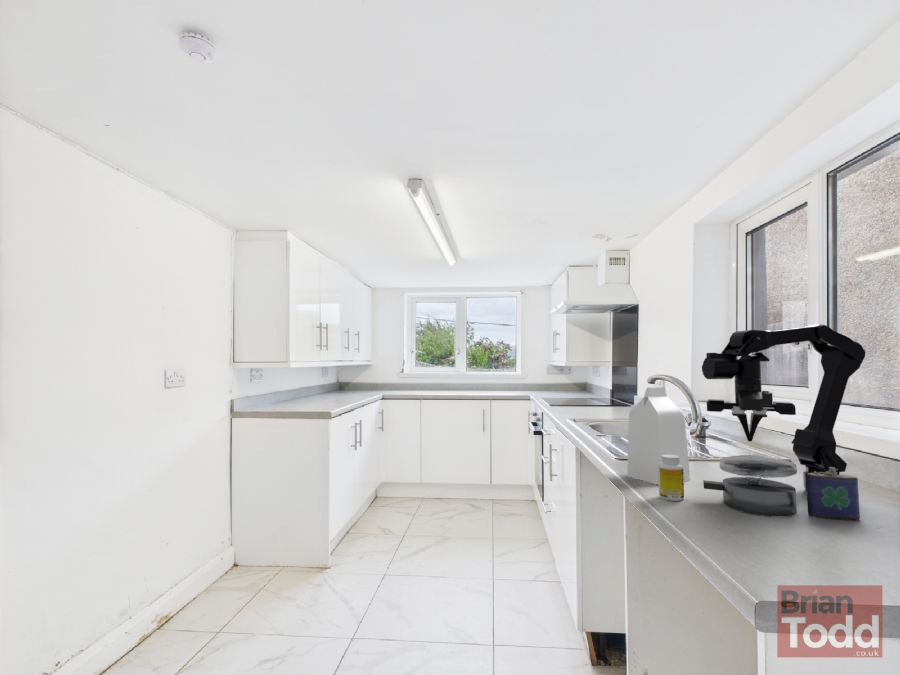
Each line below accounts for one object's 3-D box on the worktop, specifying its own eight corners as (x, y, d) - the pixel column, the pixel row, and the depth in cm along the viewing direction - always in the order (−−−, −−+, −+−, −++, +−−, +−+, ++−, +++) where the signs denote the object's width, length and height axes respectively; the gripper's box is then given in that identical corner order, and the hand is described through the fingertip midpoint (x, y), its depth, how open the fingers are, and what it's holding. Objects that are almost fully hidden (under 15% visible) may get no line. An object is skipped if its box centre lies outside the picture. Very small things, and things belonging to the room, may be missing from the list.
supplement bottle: (687, 502, 110) (685, 458, 111) (662, 501, 112) (660, 457, 112) (680, 495, 116) (679, 454, 116) (656, 494, 117) (655, 453, 118)
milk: (661, 485, 125) (658, 388, 127) (627, 476, 136) (625, 386, 137) (690, 480, 131) (687, 387, 132) (655, 472, 141) (653, 385, 143)
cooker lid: (791, 480, 110) (789, 468, 112) (802, 464, 99) (800, 451, 100) (718, 473, 117) (717, 462, 118) (720, 458, 105) (720, 445, 107)
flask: (856, 517, 99) (853, 466, 100) (864, 522, 97) (861, 469, 97) (805, 514, 102) (803, 464, 102) (811, 518, 99) (809, 467, 100)
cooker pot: (788, 500, 111) (787, 479, 112) (803, 520, 97) (802, 496, 98) (703, 491, 120) (702, 471, 120) (705, 508, 106) (704, 486, 106)
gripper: (706, 379, 116) (708, 443, 116) (798, 381, 108) (801, 449, 107) (705, 378, 126) (707, 436, 125) (790, 379, 117) (792, 442, 117)
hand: (749, 441), depth 118 cm, fingers closed
